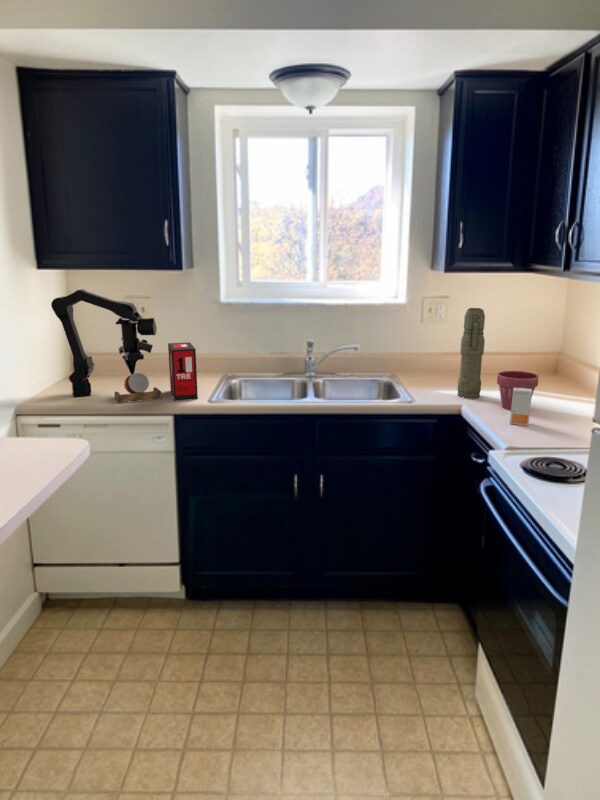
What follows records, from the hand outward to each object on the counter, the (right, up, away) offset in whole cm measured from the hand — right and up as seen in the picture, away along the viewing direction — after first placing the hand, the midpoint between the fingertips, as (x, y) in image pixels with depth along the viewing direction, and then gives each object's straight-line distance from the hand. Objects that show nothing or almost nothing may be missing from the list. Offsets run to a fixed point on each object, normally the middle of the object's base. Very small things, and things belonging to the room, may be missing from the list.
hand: (132, 374), depth 232 cm
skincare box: (+142, -19, -36) cm, 148 cm away
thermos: (+135, -9, 0) cm, 135 cm away
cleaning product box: (+20, -9, +2) cm, 22 cm away
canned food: (0, -4, +3) cm, 5 cm away
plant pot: (+147, -14, -17) cm, 149 cm away
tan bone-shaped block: (+4, -10, -4) cm, 11 cm away
